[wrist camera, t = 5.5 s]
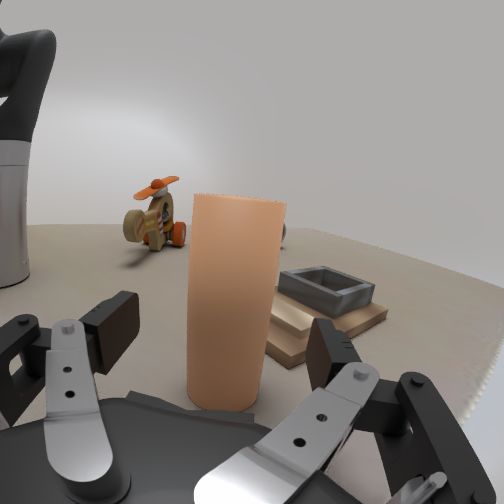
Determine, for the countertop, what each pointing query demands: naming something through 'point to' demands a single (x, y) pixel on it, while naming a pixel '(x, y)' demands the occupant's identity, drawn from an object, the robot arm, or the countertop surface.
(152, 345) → the countertop surface
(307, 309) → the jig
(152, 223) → the toy helicopter
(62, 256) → the countertop surface
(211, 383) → the cylinder
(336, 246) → the countertop surface
